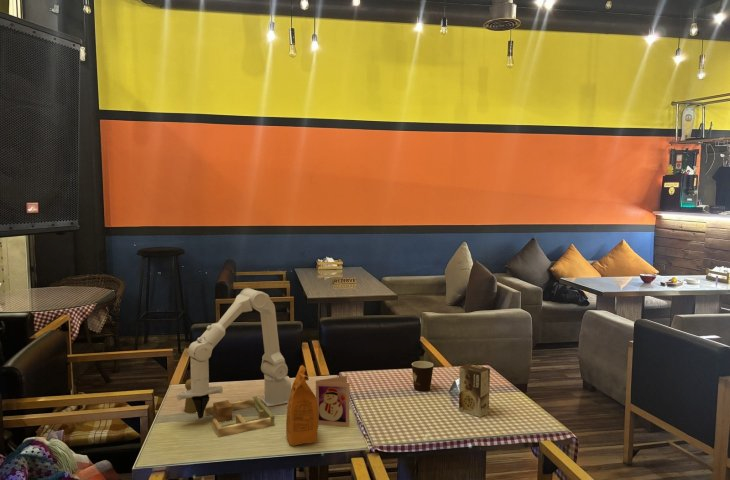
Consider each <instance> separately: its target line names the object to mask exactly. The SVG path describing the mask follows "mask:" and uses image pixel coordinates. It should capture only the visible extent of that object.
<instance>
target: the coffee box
mask: <svg viewBox="0 0 730 480" xmlns="http://www.w3.org/2000/svg"><path fill="white" fill-rule="evenodd" d="M458 372H459V375H458V376H459V377H458V379H459V383H458V386H459V387H458V389H459V390H458V394H459V395H458V412H462V413H466V414H468V415H472V416H475V417H478V418H481V417H484V416H485V415H487V414H489V413H490V381H491V380H490V378H491V376H490V375H491V373H490V372H491V368H489V367H485V366H482V365H477V364H472V363H467V364H464V365H462V366H460V367H459V371H458Z"/></svg>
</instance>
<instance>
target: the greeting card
mask: <svg viewBox="0 0 730 480" xmlns="http://www.w3.org/2000/svg"><path fill="white" fill-rule="evenodd" d="M350 383H351V382H348V375H343V376H342V375H341V376H337V377H330V378H324V379H318V380H315V397H316V400H317V407H318V420H319V421H318V426H319V425H320V426H322V425H323V426H335V427H348V428H349V427H350V398H351V395H350V392H351V391H350V387H351V386H350Z"/></svg>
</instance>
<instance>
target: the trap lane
mask: <svg viewBox="0 0 730 480" xmlns="http://www.w3.org/2000/svg"><path fill="white" fill-rule="evenodd" d="M230 404H231V405H232V410H233V411H236V409H238V410H243V409H247V407H249V408H253V407H254V408H255V409H256V410H257V412H258V418H254V419H249V420H245V419H244V418H243V417H242V415H241V414H240V413H239V414H235V416H234V417H235V422H234V423H228V424H223V425H221V424H220V423H218V421H217V420H216V419H215V418H212V419H211V422H212V424H211V425H212V426H211V427H212V428H214V429H213V430H214V432H215V434H216V435H217V437H224V436H229V435H235V434H239V433H244V432H249V431H253V430H254V431H255V430H258V429H259V430H260V429H263V428H269V427H274V426H275V415H274V414H273V413H272V412H271V411H270V409H269V408H267V406H266V404H265V403H264V402H263V401H262V400H261V399H260V398H259V397H258V395H257V396H255V395H254V396H253V397H252V398H250V399H245V400H244V399H243V400H238V401H232V402H230ZM242 408H243V409H242ZM210 415H211V416H212V415H213V405H211V406H206V408H205V411H204V416H210Z"/></svg>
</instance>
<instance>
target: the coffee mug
mask: <svg viewBox="0 0 730 480" xmlns="http://www.w3.org/2000/svg"><path fill="white" fill-rule="evenodd" d="M411 370H412V379H413V389H414V391H416V392H419V393H425V392H426V393H427V392H430V390H431V385H432V380H433V373H434V372H433V371H434V363H433V362H430V361H427V360H418V361H414V362H412V363H411Z"/></svg>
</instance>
